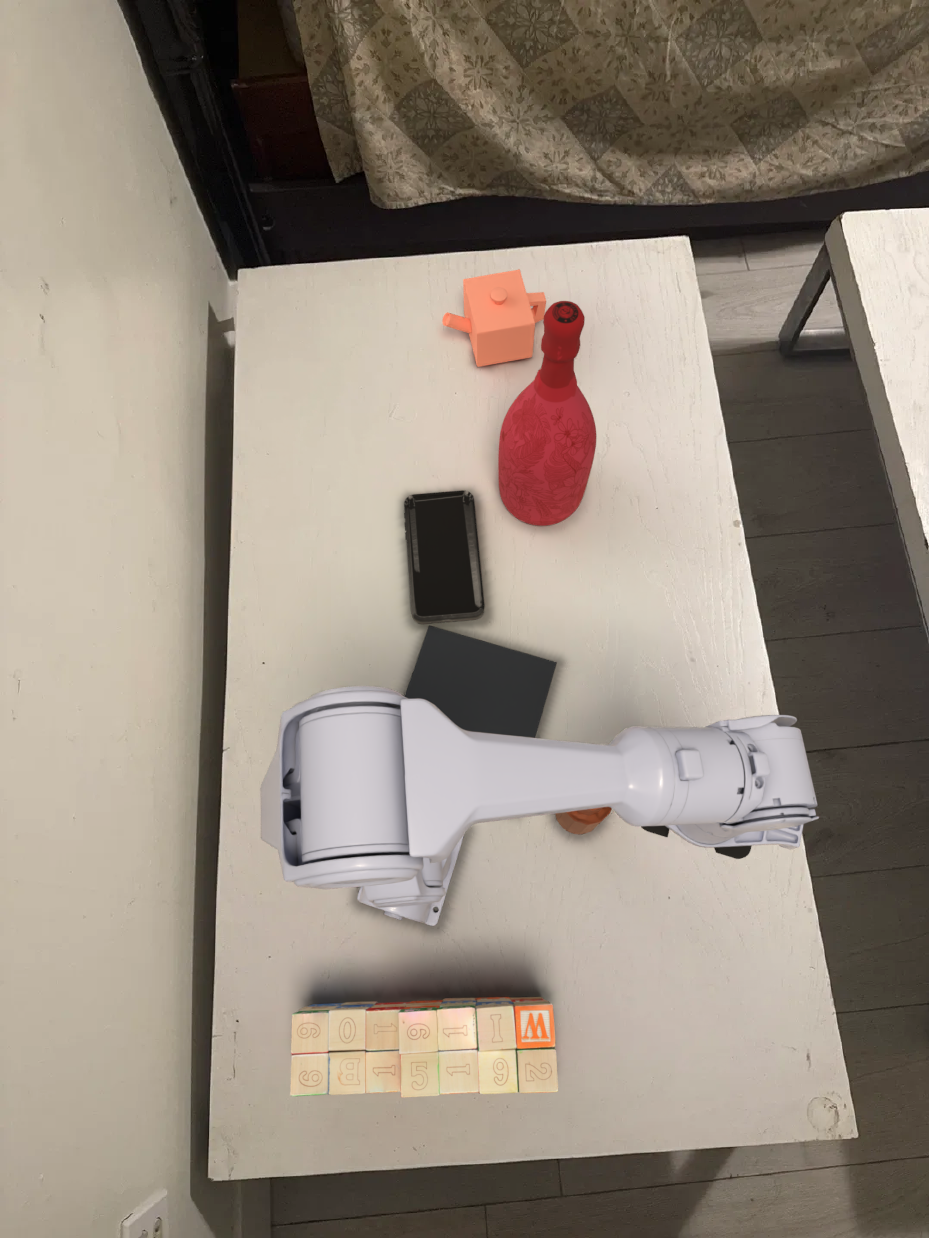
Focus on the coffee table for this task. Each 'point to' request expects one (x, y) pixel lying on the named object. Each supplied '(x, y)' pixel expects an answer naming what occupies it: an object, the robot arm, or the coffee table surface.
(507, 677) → the mat
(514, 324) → the pink cube teapot
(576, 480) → the wine bottle
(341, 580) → the coffee table surface
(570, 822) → the brown jar
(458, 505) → the phone
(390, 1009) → the stack of blocks
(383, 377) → the coffee table surface
